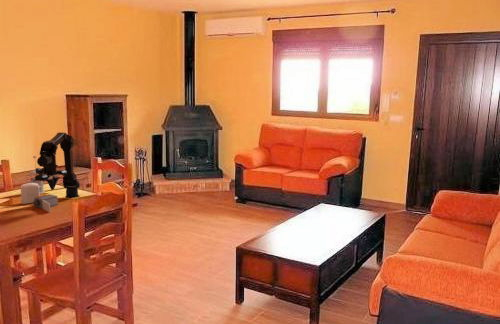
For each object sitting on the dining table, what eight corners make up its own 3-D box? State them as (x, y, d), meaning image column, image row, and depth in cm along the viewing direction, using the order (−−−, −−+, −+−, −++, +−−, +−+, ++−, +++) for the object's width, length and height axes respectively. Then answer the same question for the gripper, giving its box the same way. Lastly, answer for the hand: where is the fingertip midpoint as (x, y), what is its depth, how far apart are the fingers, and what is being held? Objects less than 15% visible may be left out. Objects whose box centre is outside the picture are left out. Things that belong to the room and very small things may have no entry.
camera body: (49, 202, 266) (49, 193, 265) (58, 204, 262) (57, 195, 261) (32, 207, 256) (31, 197, 255) (40, 209, 252) (39, 199, 251)
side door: (50, 212, 247) (50, 203, 246) (47, 212, 246) (47, 203, 245) (44, 208, 254) (43, 199, 253) (41, 208, 253) (40, 200, 252)
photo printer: (39, 200, 271) (38, 181, 268) (40, 202, 267) (39, 182, 265) (21, 203, 265) (19, 183, 263) (22, 204, 262) (20, 184, 259)
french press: (41, 194, 286) (38, 157, 282) (23, 194, 286) (20, 157, 282) (48, 190, 296) (45, 154, 291) (31, 190, 296) (28, 154, 292)
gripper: (52, 159, 259) (54, 185, 262) (26, 165, 242) (28, 192, 245) (66, 161, 255) (68, 186, 258) (41, 166, 238) (43, 193, 241)
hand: (52, 189), depth 251 cm, fingers closed
